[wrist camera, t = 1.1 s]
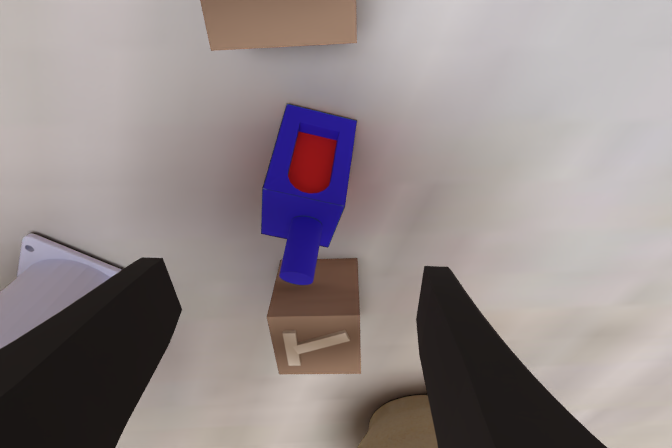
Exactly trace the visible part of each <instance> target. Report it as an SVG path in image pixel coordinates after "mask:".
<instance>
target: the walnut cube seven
mask: <svg viewBox="0 0 672 448" xmlns="http://www.w3.org/2000/svg"><path fill="white" fill-rule="evenodd" d="M281 265H282V260H281V261H280V265H279V269H278V273H277V277H276V281H275V285H274V290H273V294H272V298H271V302H270V306H269V310H268V314H267V320H268V325H269V330H270V334H271V339H272V343H273V348H274V353H275V357H276V362H277V366H278V371H279V374H361V354H360V309H359V286H358V262H357V258H346V259H317V262H316V268H315V274H314V280H313V283H312V284H309V285H296V284H291V283H288V282H285V281H284V280H282V279H281V278H280V277H279V274H280V269H281Z"/></svg>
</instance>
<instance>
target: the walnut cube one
mask: <svg viewBox="0 0 672 448" xmlns="http://www.w3.org/2000/svg"><path fill="white" fill-rule="evenodd" d="M200 1H201V6H202V11H203V15H204V20H205V25H206V29H207V34H208V39H209V43H210V48H211V51H213V50H232V49H251V48H270V47H289V46H308V45H327V44H346V43H357V28H356V0H200Z"/></svg>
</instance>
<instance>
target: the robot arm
mask: <svg viewBox="0 0 672 448" xmlns="http://www.w3.org/2000/svg"><path fill="white" fill-rule="evenodd" d="M181 311H182V308H181V305H180V303H179V300H178V298H177V295H176V292H175V290H174V287H173V284H172V282H171V279H170V276H169V274H168V271H167V268H166V266H165V263H164V260H163V258H140V259H139V260H137V261H135V262H134V263H132V264H130V265H129V266H127V267H126V268H124V269H123V270H122V269H119V268H117V267H114V266H112V265H109V264H107V263H104V262H102V261H100V260H97V259H95V258H92V257H90V256H87V255H85V254H82V253H80V252H78V251H75V250H73V249H70V248H68V247H65V246H63V245H60V244H58V243H56V242H53V241H51V240H48V239H46V238H43V237H41V236H39V235H36V234H32V233H30V234H27V235H26V236H24V237H23V239H22V245H21V252H20V258H19V265H18V272H17V278H16V279H15V280H13V281H12V282H11V283H10V284H9V285H8V286H7V287H5V288H4V289H3V290H2V291H1V292H0V448H115V447H116V445H117V443H118V440H119V438H120V436H121V434H122V432H123V430H124V428H125V426H126V424H127V422H128V420H129V418H130V416H131V414H132V412H133V411H134V409H135V407H136V405H137V403H138V401H139V399H140V398H141V396H142V394H143V392H144V390H145V388H146V386H147V385H148V383H149V381H150V379H151V377H152V375H153V373H154V372H155V370H156V368H157V366H158V364H159V362H160V360H161V358H162V356H163V354H164V353H165V351H166V349H167V347H168V345H169V343H170V340H171V338H172V335H173V333H174V330H175V328H176V325H177V322H178V319H179V316H180V314H181ZM416 321H417V333H418V344H419V355H420V360H421V365H422V370H423V375H424V380H425V385H426V390H427V395H428V400H429V405H430V409H431V414H432V419H433V424H434V429H435V434H436V439H437V445H438V448H607V447H606V446H605V445H604V444H603V443H601V442H600V441H599V440H598V439H597V438H596V437H595V436H593V435H592V434H591V433H590V432H589V431H588V430H587V429H586V428H585V427H584V426H583V425H582V424H581V423H580V422H579V421H578V420H577V419H576V418H575V417H574V416H573V415H571V414H570V413H569V412H568V411H567V410H566V409H565V408H564V407H563V406H562V405H561V404H560V403H559V402H558V401H557V400H556V399H555V398H554V397H553V396H552V395H551V394H550V392H549V391H548V390H547V389H546V388H545V387H544V386H543V385H542V384H541V383H540V382H539V381H538V380H537V379H536V378H535V377H534V376H533V374H532V373H531V372H530V371H529V370H528V369H527V368H526V367H525V366H524V364H523V363H522V362H521V361H520V360H519V359H518V358H517V356H516V355H515V354H514V353H513V352H512V351H511V349H510V348H509V347H508V346H507V345H506V343H505V342H504V341H503V340H502V339H501V337H500V336H499V335H498V334H497V332H496V331H495V330H494V329H493V327H492V326H491V325H490V323H489V322H488V321H487V320H486V318H485V317H484V316H483V315H482V313H481V312H480V311H479V309H478V308H477V306H476V305H475V304H474V302H473V301H472V300H471V298H470V297H469V295H468V294H467V293H466V291H465V290H464V288H463V287H462V285H461V284H460V283H459V281H458V280H457V278H456V277H455V275H454V274H453V272H452V271H451V270H450V269H449V267H434V266H424V273H423V279H422V285H421V292H420V298H419V305H418V311H417V318H416Z"/></svg>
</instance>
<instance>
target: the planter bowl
mask: <svg viewBox="0 0 672 448" xmlns="http://www.w3.org/2000/svg"><path fill="white" fill-rule="evenodd" d="M357 448H438V445H437V439H436V434H435V429H434V424H433V419H432V414H431V409H430V405H429V400H428V395H414V396H407V397H403V398H399V399H396V400H393V401H391V402H388V403H386V404H385V405H383V406H381V407H380V408H379V409H378V410H377V411H376V412H375V413H374V414H373V416H372V417H371V419H370V423H369V429H368V433H367V434H366V435H365V437H364V438H363V439H362V441H361V443H360V444H359V446H358V447H357Z"/></svg>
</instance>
